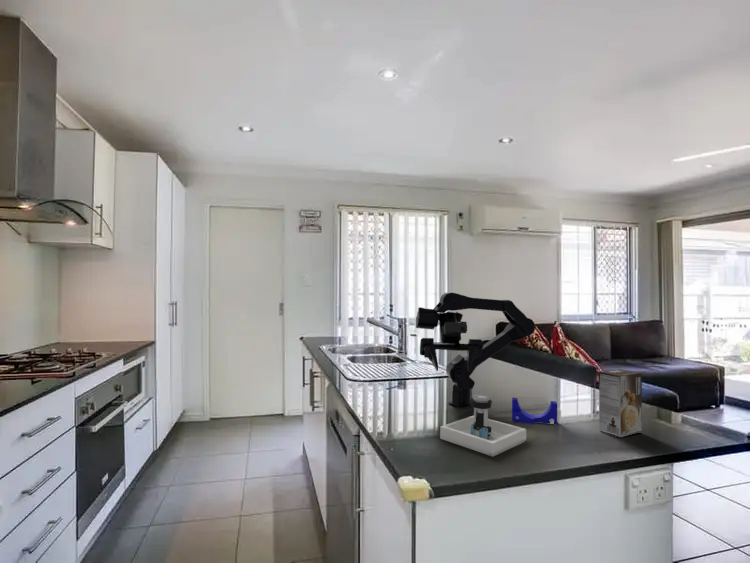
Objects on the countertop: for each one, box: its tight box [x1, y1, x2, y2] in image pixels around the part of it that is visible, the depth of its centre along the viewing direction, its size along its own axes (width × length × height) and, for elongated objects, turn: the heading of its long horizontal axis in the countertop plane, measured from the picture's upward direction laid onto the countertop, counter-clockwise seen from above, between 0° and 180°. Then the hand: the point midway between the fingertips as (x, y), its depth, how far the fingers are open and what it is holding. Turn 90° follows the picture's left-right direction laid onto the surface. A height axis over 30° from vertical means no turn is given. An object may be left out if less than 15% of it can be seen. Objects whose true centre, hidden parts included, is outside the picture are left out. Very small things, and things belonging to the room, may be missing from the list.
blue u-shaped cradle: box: [511, 397, 558, 425], centre depth 122 cm, size 12×4×6 cm, turn 72°
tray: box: [439, 415, 527, 458], centre depth 106 cm, size 15×15×3 cm
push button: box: [470, 394, 495, 439], centre depth 107 cm, size 7×5×10 cm
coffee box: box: [598, 368, 643, 435], centre depth 114 cm, size 9×6×16 cm
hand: (453, 370), depth 125 cm, fingers open, 9 cm apart
